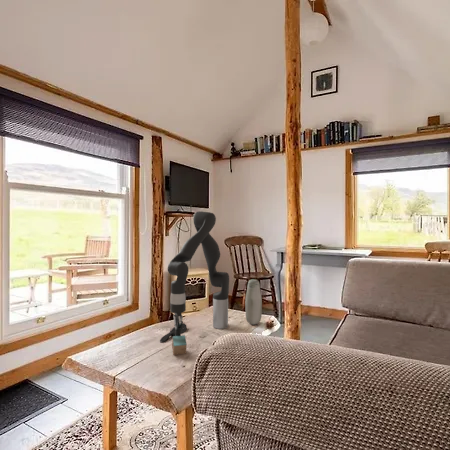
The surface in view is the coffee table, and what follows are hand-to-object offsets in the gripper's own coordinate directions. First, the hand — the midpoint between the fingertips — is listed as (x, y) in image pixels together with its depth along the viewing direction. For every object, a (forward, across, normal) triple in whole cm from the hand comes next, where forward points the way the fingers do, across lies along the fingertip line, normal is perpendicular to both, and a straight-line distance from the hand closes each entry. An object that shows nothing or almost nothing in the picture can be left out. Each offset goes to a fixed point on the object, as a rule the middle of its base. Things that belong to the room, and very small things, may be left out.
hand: (178, 336), depth 158 cm
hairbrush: (+8, +22, -1) cm, 24 cm away
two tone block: (+6, -2, 0) cm, 6 cm away
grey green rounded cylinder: (+8, +26, -52) cm, 59 cm away
